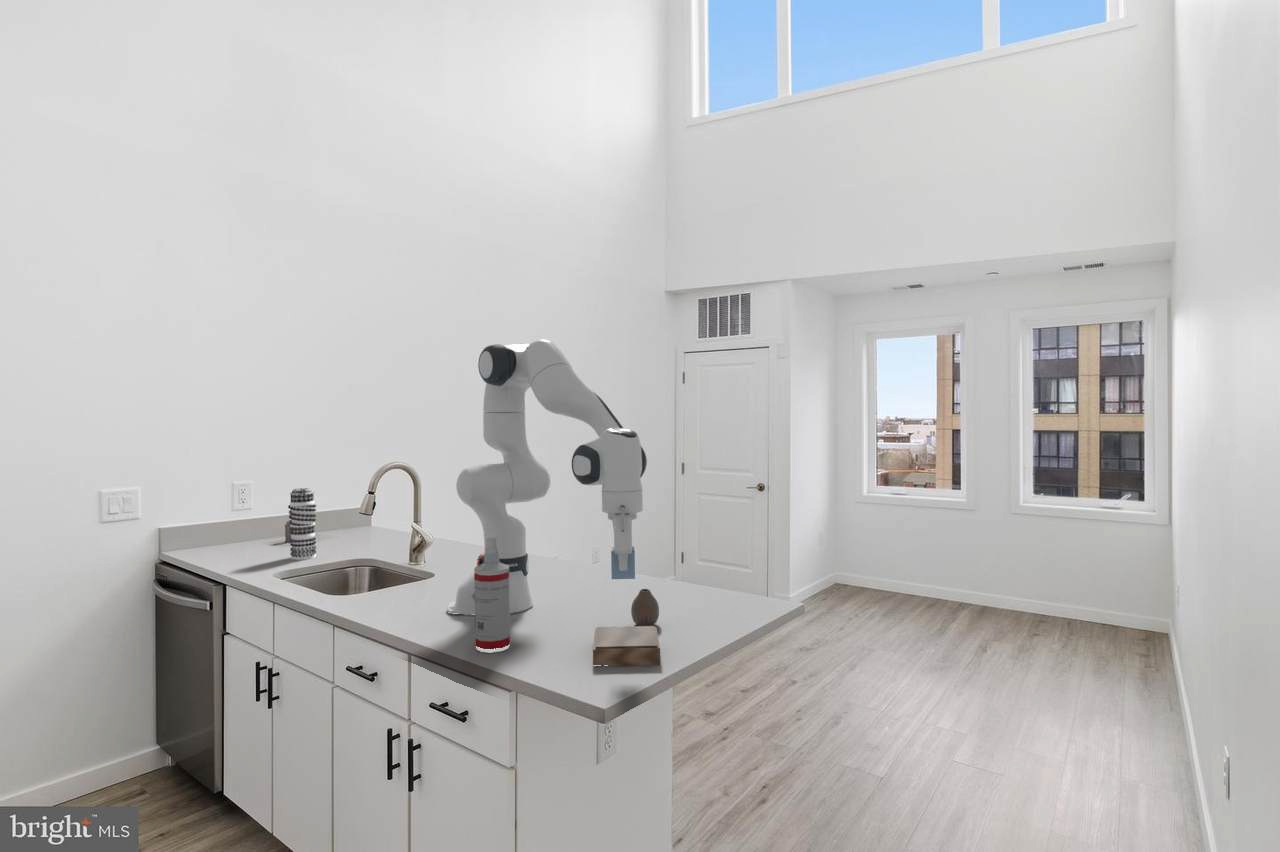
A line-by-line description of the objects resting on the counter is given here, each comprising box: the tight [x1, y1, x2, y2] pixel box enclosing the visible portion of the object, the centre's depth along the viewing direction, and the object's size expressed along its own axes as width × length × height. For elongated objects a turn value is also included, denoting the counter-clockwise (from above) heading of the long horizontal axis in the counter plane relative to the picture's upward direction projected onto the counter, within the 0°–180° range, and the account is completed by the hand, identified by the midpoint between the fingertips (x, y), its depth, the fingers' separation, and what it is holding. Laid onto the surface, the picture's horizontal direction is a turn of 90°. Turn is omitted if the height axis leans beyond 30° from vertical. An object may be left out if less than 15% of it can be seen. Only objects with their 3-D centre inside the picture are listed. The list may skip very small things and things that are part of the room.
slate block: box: [610, 545, 636, 580], centre depth 153 cm, size 5×5×6 cm
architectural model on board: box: [284, 519, 316, 544], centre depth 288 cm, size 11×3×10 cm, turn 150°
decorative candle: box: [287, 487, 317, 561], centre depth 255 cm, size 9×9×25 cm
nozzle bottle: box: [473, 537, 511, 649], centre depth 158 cm, size 8×8×25 cm
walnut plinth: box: [592, 625, 661, 667], centre depth 153 cm, size 14×14×4 cm
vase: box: [630, 588, 660, 626], centre depth 174 cm, size 7×7×9 cm
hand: (623, 566), depth 153 cm, fingers closed on slate block, 5 cm apart
